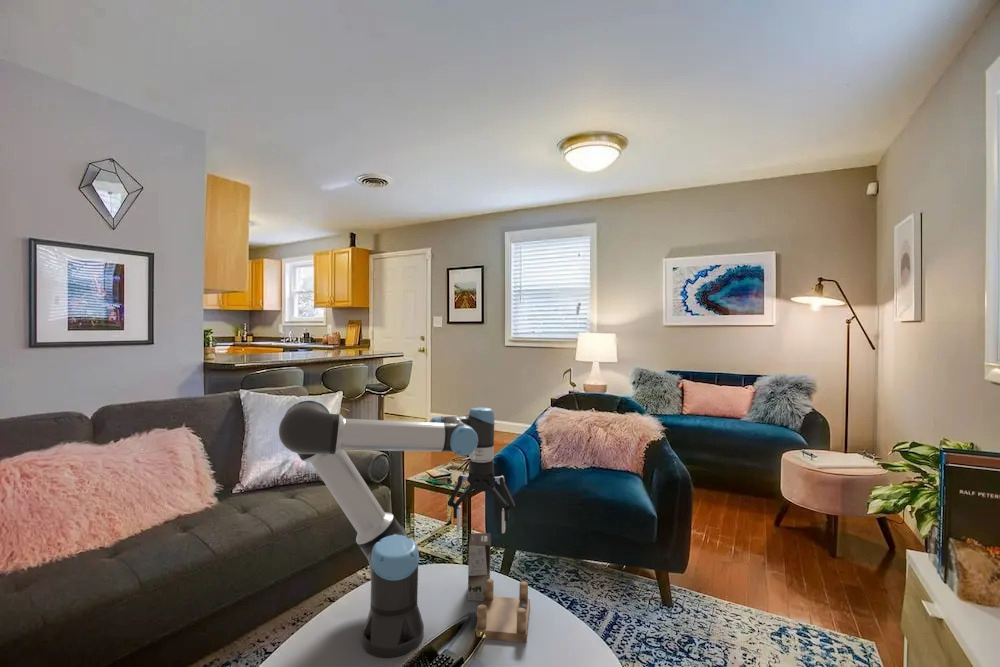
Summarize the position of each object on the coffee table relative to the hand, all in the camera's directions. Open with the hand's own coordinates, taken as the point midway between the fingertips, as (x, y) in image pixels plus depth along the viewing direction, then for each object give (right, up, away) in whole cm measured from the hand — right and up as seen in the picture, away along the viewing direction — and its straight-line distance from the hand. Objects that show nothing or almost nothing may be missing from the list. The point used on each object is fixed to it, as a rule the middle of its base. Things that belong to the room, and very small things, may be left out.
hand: (481, 530), depth 139 cm
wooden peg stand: (+7, -18, -14) cm, 24 cm away
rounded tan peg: (+12, -16, -10) cm, 23 cm away
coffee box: (0, -19, 0) cm, 19 cm away
